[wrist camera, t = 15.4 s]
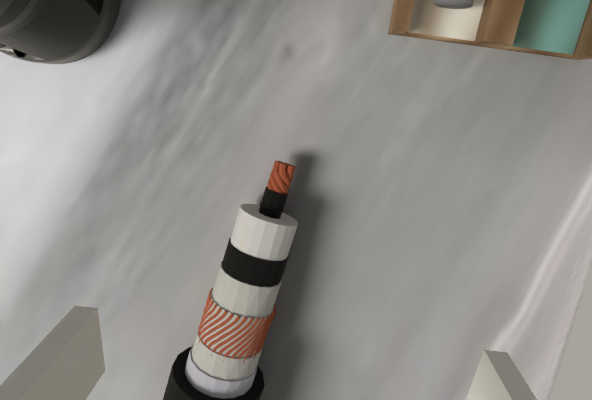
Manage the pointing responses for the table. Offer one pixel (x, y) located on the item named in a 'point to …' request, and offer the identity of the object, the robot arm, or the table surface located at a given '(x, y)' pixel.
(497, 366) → the robot arm
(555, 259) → the table surface
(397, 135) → the table surface
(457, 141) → the table surface
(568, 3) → the caddy
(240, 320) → the cable
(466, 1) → the smooth gray cylinder
